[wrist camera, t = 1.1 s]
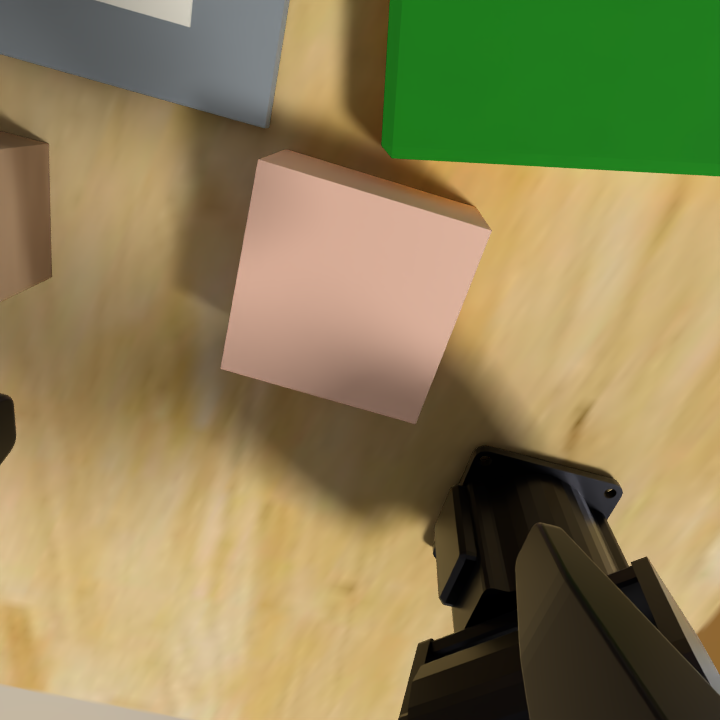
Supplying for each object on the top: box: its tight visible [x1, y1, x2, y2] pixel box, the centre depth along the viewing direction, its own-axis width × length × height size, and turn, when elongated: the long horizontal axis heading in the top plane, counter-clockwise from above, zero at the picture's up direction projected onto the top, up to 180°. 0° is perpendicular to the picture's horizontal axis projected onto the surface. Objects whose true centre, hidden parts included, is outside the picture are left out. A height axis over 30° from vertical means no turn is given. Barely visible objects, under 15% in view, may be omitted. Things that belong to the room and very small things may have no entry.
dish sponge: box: [381, 0, 720, 176], centre depth 15 cm, size 7×14×2 cm, turn 87°
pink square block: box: [220, 149, 492, 424], centre depth 18 cm, size 7×7×4 cm
